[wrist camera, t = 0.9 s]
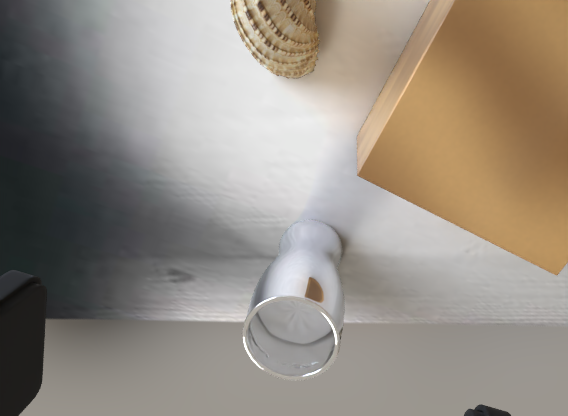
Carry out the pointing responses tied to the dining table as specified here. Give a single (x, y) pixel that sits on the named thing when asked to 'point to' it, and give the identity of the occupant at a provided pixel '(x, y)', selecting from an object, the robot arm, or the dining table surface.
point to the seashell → (279, 34)
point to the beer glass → (298, 305)
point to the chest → (400, 75)
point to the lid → (487, 127)
